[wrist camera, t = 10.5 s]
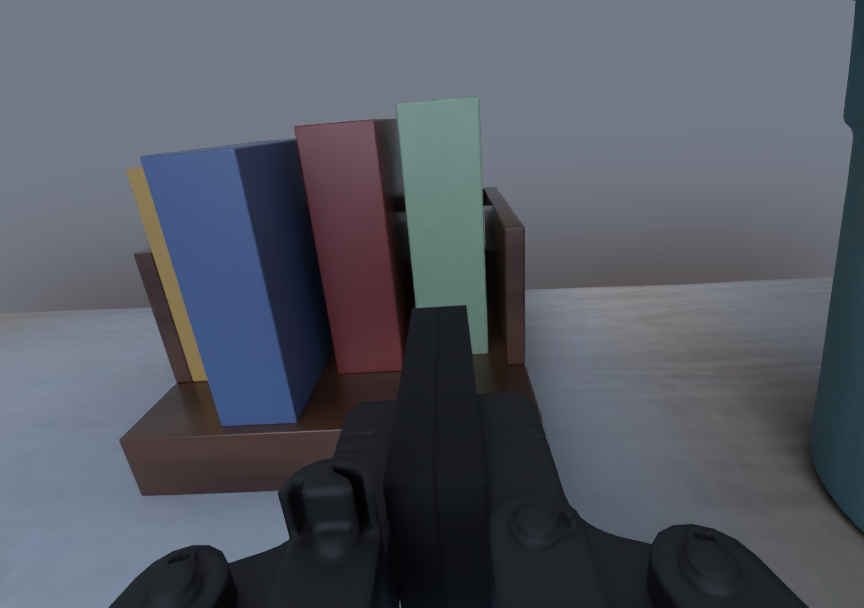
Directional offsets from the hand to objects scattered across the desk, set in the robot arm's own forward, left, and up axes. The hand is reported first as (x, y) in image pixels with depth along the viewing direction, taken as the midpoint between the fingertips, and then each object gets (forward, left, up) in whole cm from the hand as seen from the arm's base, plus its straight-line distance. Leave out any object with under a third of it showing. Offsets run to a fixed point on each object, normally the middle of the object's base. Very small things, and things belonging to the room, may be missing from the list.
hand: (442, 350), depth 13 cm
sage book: (-3, +12, -4) cm, 13 cm away
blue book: (-9, +5, -4) cm, 11 cm away
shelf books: (-10, +9, -4) cm, 14 cm away
